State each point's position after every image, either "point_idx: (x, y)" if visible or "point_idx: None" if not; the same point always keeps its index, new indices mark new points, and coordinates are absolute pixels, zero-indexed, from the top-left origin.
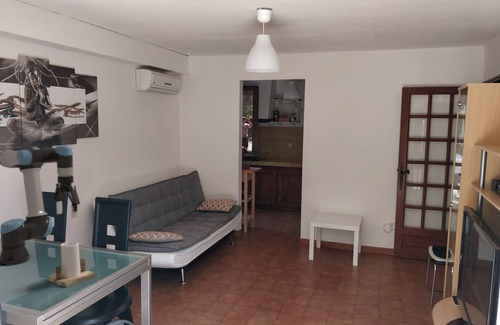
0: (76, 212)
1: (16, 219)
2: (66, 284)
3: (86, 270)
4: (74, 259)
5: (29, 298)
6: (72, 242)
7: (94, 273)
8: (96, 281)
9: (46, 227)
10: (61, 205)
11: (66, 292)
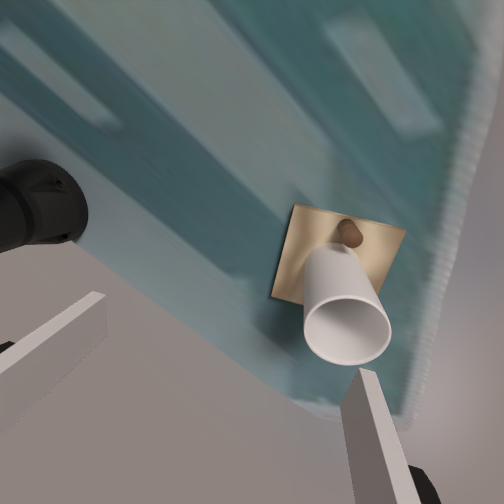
0: (389, 433)
1: None
2: None
3: (356, 221)
4: (369, 307)
5: (319, 377)
6: (331, 299)
7: (404, 233)
8: (430, 258)
9: None
10: (23, 364)
11: None
